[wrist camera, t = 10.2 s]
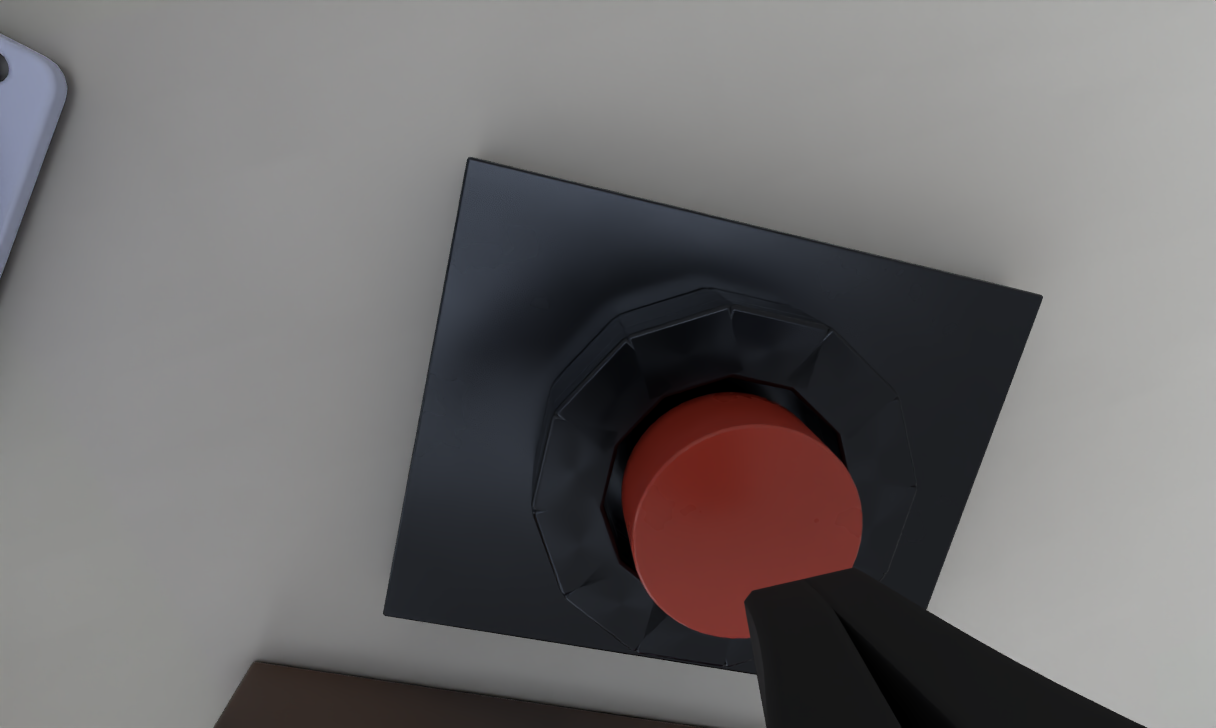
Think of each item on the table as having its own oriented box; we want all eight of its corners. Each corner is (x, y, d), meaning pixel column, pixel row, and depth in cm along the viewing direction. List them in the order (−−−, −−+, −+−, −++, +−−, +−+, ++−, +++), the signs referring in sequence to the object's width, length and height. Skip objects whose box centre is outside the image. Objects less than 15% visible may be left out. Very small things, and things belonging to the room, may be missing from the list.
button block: (394, 583, 16) (359, 675, 13) (473, 157, 14) (454, 153, 11) (871, 662, 17) (936, 761, 14) (1007, 286, 15) (1114, 313, 12)
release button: (599, 563, 13) (608, 620, 12) (649, 371, 12) (664, 403, 11) (790, 596, 14) (824, 656, 12) (849, 413, 13) (895, 450, 11)
